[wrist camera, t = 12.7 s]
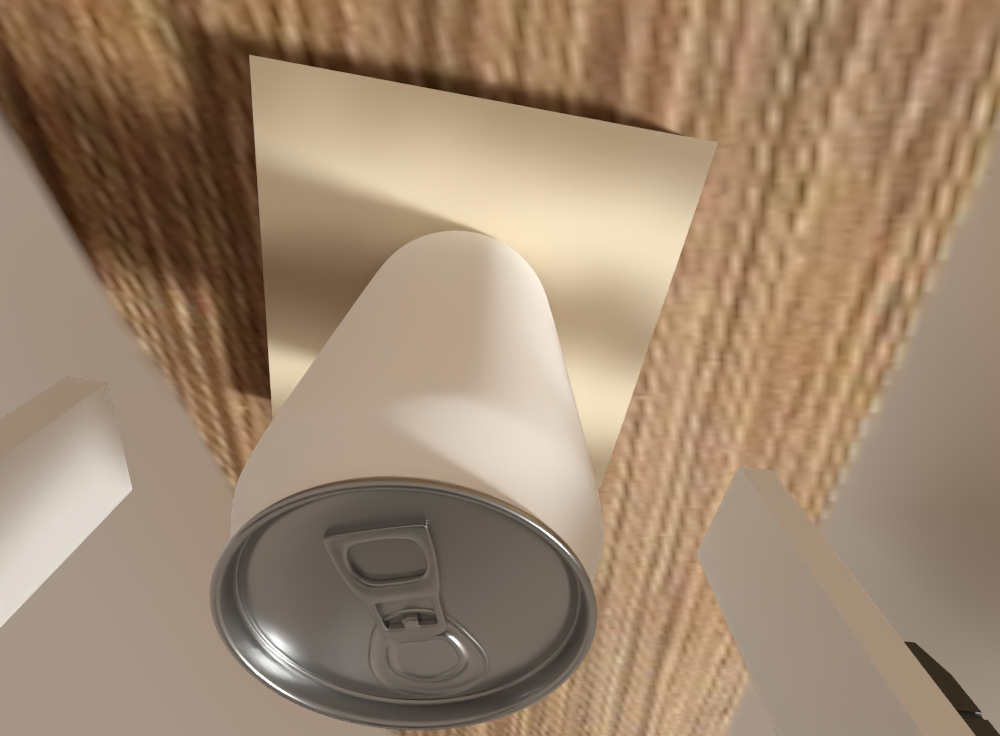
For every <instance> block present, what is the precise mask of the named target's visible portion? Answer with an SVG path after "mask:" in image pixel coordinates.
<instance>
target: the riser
mask: <svg viewBox="0 0 1000 736" xmlns="http://www.w3.org/2000/svg"><path fill="white" fill-rule="evenodd" d="M249 60H250V76H251V91H252V107H253V123H254V138H255V154H256V169H257V185H258V200H259V216H260V231H261V247H262V262H263V278H264V293H265V309H266V324H267V340H268V355H269V371H270V386H271V402H272V417H273V419H274V418H275V416H276V415H277V413H278V412H279V410H280V409H281V408H282V406H283V405H284V403H285V402H286V400H287V399H288V397H289V396H290V394H291V393H292V392H293V390H294V389H295V387H296V386H297V384H298V383H299V381H300V380H301V379H302V377H303V376H304V374H305V373H306V371H307V370H308V369H309V367H310V366H311V364H312V363H313V361H314V360H315V359H316V357H317V356H318V354H319V353H320V351H321V350H322V349H323V347H324V346H325V344H326V343H327V341H328V340H329V339H330V337H331V336H332V334H333V333H334V332H335V330H336V329H337V327H338V326H339V324H340V323H341V322H342V320H343V319H344V317H345V316H346V315H347V313H348V312H349V310H350V309H351V308H352V306H353V305H354V303H355V302H356V301H357V299H358V298H359V296H360V295H361V294H362V292H363V291H364V289H365V288H366V287H367V285H368V284H369V282H370V281H371V280H372V278H373V277H374V276H375V274H376V273H377V272H378V270H379V269H380V268H381V267H382V265H383V264H384V263H385V262H386V261H387V259H388V258H389V257H390V256H391V255H393V254H394V253H395V252H396V251H397V250H399V249H400V248H401V247H403V246H404V245H406V244H407V243H409V242H411V241H413V240H415V239H417V238H419V237H422V236H425V235H428V234H432V233H436V232H442V231H468V232H474V233H478V234H482V235H485V236H488V237H491V238H493V239H496V240H498V241H500V242H502V243H504V244H505V245H507V246H508V247H510V248H511V249H513V250H514V251H516V252H517V253H518V254H519V255H520V256H521V257H522V258H523V259H524V260H525V261H526V262H527V263H528V264H529V265H530V266H531V268H532V269H533V270H534V272H535V273H536V275H537V277H538V278H539V280H540V282H541V284H542V286H543V288H544V291H545V294H546V297H547V300H548V303H549V306H550V310H551V313H552V317H553V320H554V324H555V328H556V331H557V335H558V339H559V342H560V346H561V350H562V353H563V357H564V361H565V365H566V368H567V372H568V376H569V380H570V383H571V387H572V391H573V395H574V398H575V402H576V406H577V410H578V414H579V418H580V421H581V425H582V429H583V433H584V437H585V441H586V444H587V448H588V452H589V456H590V460H591V464H592V468H593V472H594V476H595V481H596V485H597V487H600V488H601V485H602V482H603V479H604V476H605V473H606V470H607V467H608V464H609V461H610V458H611V455H612V452H613V450H614V447H615V444H616V441H617V438H618V435H619V432H620V429H621V426H622V423H623V420H624V417H625V414H626V411H627V409H628V406H629V403H630V400H631V397H632V394H633V391H634V388H635V385H636V382H637V379H638V376H639V373H640V370H641V368H642V365H643V362H644V359H645V356H646V353H647V350H648V347H649V344H650V341H651V338H652V335H653V332H654V329H655V327H656V324H657V321H658V318H659V315H660V312H661V309H662V306H663V303H664V300H665V297H666V294H667V291H668V289H669V286H670V283H671V280H672V277H673V274H674V271H675V268H676V265H677V262H678V259H679V256H680V253H681V250H682V248H683V245H684V242H685V239H686V236H687V233H688V230H689V227H690V224H691V221H692V218H693V215H694V212H695V209H696V207H697V204H698V201H699V198H700V195H701V192H702V189H703V186H704V183H705V180H706V177H707V174H708V171H709V168H710V166H711V163H712V160H713V157H714V154H715V151H716V148H717V145H718V142H713V141H707V140H702V139H697V138H691V137H686V136H681V135H675V134H670V133H665V132H659V131H654V130H649V129H643V128H638V127H633V126H627V125H622V124H617V123H611V122H606V121H601V120H595V119H590V118H585V117H579V116H574V115H569V114H563V113H558V112H553V111H547V110H542V109H537V108H531V107H526V106H521V105H515V104H510V103H505V102H499V101H494V100H489V99H483V98H478V97H472V96H467V95H462V94H456V93H451V92H446V91H440V90H435V89H430V88H424V87H419V86H414V85H408V84H403V83H398V82H392V81H387V80H382V79H376V78H371V77H366V76H360V75H355V74H350V73H344V72H339V71H334V70H328V69H323V68H318V67H312V66H307V65H302V64H296V63H291V62H286V61H280V60H275V59H270V58H264V57H259V56H254V55H249Z"/></svg>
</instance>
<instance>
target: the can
mask: <svg viewBox="0 0 1000 736" xmlns="http://www.w3.org/2000/svg"><path fill="white" fill-rule="evenodd" d="M230 529H231V539H230V540H229V542H228V543H227V545H226V546H225V548H224V549H223V551H222V553H221V554H220V556H219V558H218V560H217V563H216V566H215V568H214V571H213V574H212V578H211V585H210V606H211V613H212V617H213V620H214V623H215V626H216V628H217V631H218V633H219V635H220V637H221V639H222V641H223V643H224V644H225V646H226V647H227V649H228V650H229V652H230V653H231V654H232V656H233V657H234V658H235V659H236V660H237V661H238V663H239V664H240V665H241V666H242V667H243V668H244V669H245V670H246V671H247V672H249V673H250V674H251V675H252V676H253V677H254V678H256V679H257V680H258V681H260V682H261V683H262V684H263V685H265V686H266V687H268V688H269V689H271V690H272V691H274V692H275V693H277V694H279V695H281V696H282V697H284V698H286V699H288V700H290V701H292V702H294V703H296V704H298V705H300V706H302V707H304V708H307V709H309V710H312V711H314V712H317V713H320V714H323V715H326V716H329V717H332V718H335V719H339V720H343V721H346V722H351V723H355V724H360V725H365V726H371V727H378V728H386V729H398V730H438V729H450V728H458V727H464V726H470V725H475V724H480V723H484V722H488V721H492V720H495V719H498V718H502V717H505V716H507V715H510V714H513V713H515V712H518V711H520V710H522V709H524V708H526V707H528V706H531V705H532V704H534V703H536V702H538V701H540V700H541V699H543V698H545V697H546V696H548V695H549V694H551V693H552V692H553V691H555V690H556V689H557V688H558V687H560V686H561V685H562V684H563V683H564V682H565V681H566V680H567V679H568V678H569V677H570V676H571V675H572V674H573V673H574V672H575V671H576V669H577V668H578V667H579V665H580V664H581V663H582V661H583V660H584V658H585V656H586V654H587V653H588V650H589V648H590V646H591V643H592V641H593V637H594V634H595V629H596V622H597V605H596V598H595V594H594V590H593V586H592V584H593V582H594V579H595V576H596V572H597V569H598V565H599V562H600V557H601V552H602V545H603V520H602V511H601V504H600V499H599V495H598V490H597V485H596V481H595V476H594V472H593V468H592V464H591V460H590V456H589V452H588V448H587V444H586V441H585V437H584V433H583V429H582V425H581V421H580V418H579V414H578V410H577V406H576V402H575V398H574V395H573V391H572V387H571V383H570V380H569V376H568V372H567V368H566V365H565V361H564V357H563V353H562V350H561V346H560V342H559V339H558V335H557V331H556V328H555V324H554V320H553V317H552V313H551V310H550V306H549V303H548V300H547V297H546V294H545V291H544V288H543V286H542V284H541V282H540V280H539V278H538V277H537V275H536V273H535V272H534V270H533V269H532V268H531V266H530V265H529V264H528V263H527V262H526V261H525V260H524V259H523V258H522V257H521V256H520V255H519V254H518V253H517V252H516V251H514V250H513V249H511V248H510V247H508V246H507V245H505V244H504V243H502V242H500V241H498V240H496V239H493V238H491V237H488V236H485V235H482V234H478V233H474V232H468V231H442V232H436V233H432V234H428V235H425V236H422V237H419V238H417V239H415V240H413V241H411V242H409V243H407V244H406V245H404V246H403V247H401V248H400V249H399V250H397V251H396V252H395V253H394V254H393V255H391V256H390V257H389V258H388V259H387V261H386V262H385V263H384V264H383V265H382V267H381V268H380V269H379V270H378V272H377V273H376V274H375V276H374V277H373V278H372V280H371V281H370V282H369V284H368V285H367V287H366V288H365V289H364V291H363V292H362V294H361V295H360V296H359V298H358V299H357V301H356V302H355V303H354V305H353V306H352V308H351V309H350V310H349V312H348V313H347V315H346V316H345V317H344V319H343V320H342V322H341V323H340V324H339V326H338V327H337V329H336V330H335V332H334V333H333V334H332V336H331V337H330V339H329V340H328V341H327V343H326V344H325V346H324V347H323V349H322V350H321V351H320V353H319V354H318V356H317V357H316V359H315V360H314V361H313V363H312V364H311V366H310V367H309V369H308V370H307V371H306V373H305V374H304V376H303V377H302V379H301V380H300V381H299V383H298V384H297V386H296V387H295V389H294V390H293V392H292V393H291V394H290V396H289V397H288V399H287V400H286V402H285V403H284V405H283V406H282V408H281V409H280V410H279V412H278V413H277V415H276V416H275V418H274V419H273V421H272V422H271V424H270V425H269V427H268V428H267V430H266V431H265V433H264V434H263V436H262V437H261V439H260V441H259V442H258V444H257V445H256V447H255V448H254V450H253V452H252V453H251V455H250V457H249V459H248V461H247V463H246V465H245V467H244V469H243V471H242V473H241V475H240V477H239V480H238V483H237V485H236V489H235V493H234V497H233V504H232V510H231V526H230Z"/></svg>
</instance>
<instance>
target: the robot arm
mask: <svg viewBox="0 0 1000 736" xmlns="http://www.w3.org/2000/svg"><path fill="white" fill-rule="evenodd" d="M130 491H132V486H131V481H130V477H129V473H128V468H127V464H126V460H125V455H124V452H123V447H122V443H121V438H120V434H119V429H118V425H117V422H116V417H115V413H114V408H113V404H112V400H111V395H110V391H109V386H108V383H105V382H98V381H90V380H83V379H76V378H68V377H66V378H65V379H63V380H61V381H60V382H58V383H57V384H55V385H53V386H52V387H50V388H48V389H47V390H45V391H44V392H42V393H40V394H39V395H37V396H36V397H34V398H32V399H31V400H29V401H28V402H26V403H24V404H23V405H21V406H20V407H18V408H16V409H15V410H13V411H12V412H10V413H8V414H7V415H5V416H4V417H2V418H0V627H1V626H2V625H3V624H4V623H5V622H6V621H7V620H8V619H9V618H10V617H11V616H12V615H13V614H14V613H15V612H16V611H17V609H19V607H20V606H21V605H22V604H23V603H24V602H25V601H26V600H27V599H28V598H29V597H30V596H31V595H32V594H33V593H34V592H35V591H36V590H37V589H38V588H39V587H40V585H41V584H42V583H43V582H44V581H45V580H46V579H47V578H48V577H49V576H50V575H51V574H52V573H53V572H54V571H55V570H56V569H57V568H58V567H59V566H60V565H61V563H62V562H63V561H64V560H65V559H66V558H67V557H68V556H69V555H70V554H71V553H72V552H73V551H74V550H75V549H76V548H77V547H78V546H79V545H80V544H81V543H82V542H83V541H84V540H85V539H86V537H87V536H88V535H89V534H90V533H91V532H92V531H93V530H94V529H95V528H96V527H97V526H98V525H99V524H100V523H101V522H102V521H103V520H104V519H105V518H106V516H108V515H109V513H110V512H111V511H112V510H113V509H114V508H115V507H116V506H117V505H118V504H119V503H120V502H121V501H122V500H123V499H124V498H125V497H126V496H127V495H128V494H129V493H130ZM696 556H697V558H698V560H699V563H700V565H701V567H702V569H703V571H704V574H705V576H706V578H707V580H708V583H709V585H710V587H711V589H712V592H713V594H714V596H715V598H716V600H717V603H718V605H719V607H720V609H721V612H722V614H723V616H724V618H725V620H726V623H727V625H728V627H729V629H730V632H731V634H732V636H733V638H734V641H735V643H736V645H737V647H738V649H739V652H740V654H741V656H742V658H743V661H744V663H745V665H746V667H747V669H748V672H749V674H750V676H751V678H752V681H753V683H754V685H755V687H756V689H757V692H758V694H759V696H760V698H761V701H762V703H763V705H764V707H765V710H766V712H767V714H768V716H769V718H770V721H771V723H772V725H773V727H774V730H775V732H776V734H777V736H1000V735H999V734H998V732H997V731H996V730H995V729H994V727H993V726H992V725H991V724H990V722H989V721H988V720H984V719H983V718H982V716H981V711H980V710H979V709H978V707H977V706H976V705H975V704H974V703H973V701H972V700H971V699H970V697H969V696H968V695H967V694H966V693H965V691H964V690H963V689H962V688H961V686H960V685H959V684H958V683H957V681H956V680H955V679H954V678H953V676H952V675H951V674H950V673H949V672H947V671H946V670H945V669H944V668H943V667H942V666H940V664H938V663H937V662H936V661H935V660H934V659H933V658H932V657H930V656H929V655H928V654H927V653H926V652H925V651H924V650H923V649H921V648H920V647H919V646H918V645H917V644H916V643H913V642H904V641H903V640H902V639H901V638H900V636H899V635H898V634H897V632H896V631H895V630H894V629H893V627H892V626H891V625H890V623H889V622H888V621H887V619H886V618H885V617H884V615H883V614H882V613H881V612H880V610H879V609H878V608H877V606H876V605H875V604H874V602H873V601H872V600H871V598H870V597H869V596H868V595H867V593H866V592H865V591H864V589H862V587H861V586H860V584H859V583H858V582H857V580H856V579H855V578H854V576H853V575H852V574H851V573H850V571H849V570H848V569H847V567H846V566H845V565H844V563H843V562H842V561H841V559H840V558H839V557H838V555H837V554H836V553H835V551H834V550H833V549H832V548H831V546H830V545H829V544H828V542H827V541H826V540H825V538H824V537H823V536H822V535H821V533H820V532H819V531H818V529H817V528H816V527H815V525H814V524H813V523H812V521H811V520H810V519H809V518H808V516H807V515H806V514H805V512H804V511H803V510H802V508H801V507H800V506H799V505H798V503H797V502H796V501H795V499H794V498H793V497H792V495H791V494H790V493H789V491H788V490H787V489H786V488H785V486H784V485H783V484H782V482H781V481H780V480H779V478H778V477H777V476H776V474H775V473H774V472H773V471H772V470H766V469H759V468H751V467H744V466H739V468H738V470H737V472H736V474H735V476H734V478H733V480H732V482H731V484H730V486H729V488H728V490H727V492H726V494H725V496H724V498H723V500H722V502H721V504H720V506H719V508H718V510H717V513H716V515H715V517H714V519H713V521H712V523H711V525H710V527H709V529H708V531H707V533H706V535H705V537H704V539H703V541H702V543H701V545H700V547H699V549H698V551H697V553H696Z"/></svg>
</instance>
